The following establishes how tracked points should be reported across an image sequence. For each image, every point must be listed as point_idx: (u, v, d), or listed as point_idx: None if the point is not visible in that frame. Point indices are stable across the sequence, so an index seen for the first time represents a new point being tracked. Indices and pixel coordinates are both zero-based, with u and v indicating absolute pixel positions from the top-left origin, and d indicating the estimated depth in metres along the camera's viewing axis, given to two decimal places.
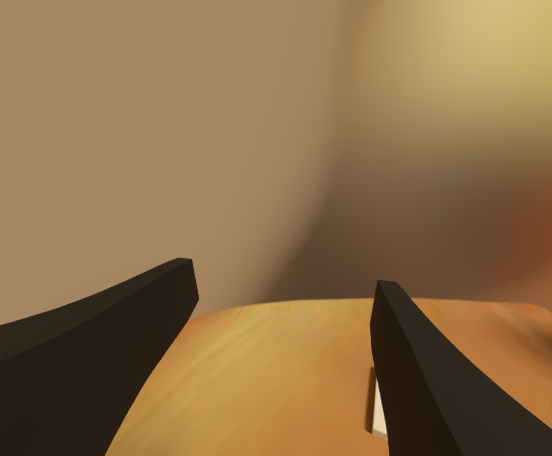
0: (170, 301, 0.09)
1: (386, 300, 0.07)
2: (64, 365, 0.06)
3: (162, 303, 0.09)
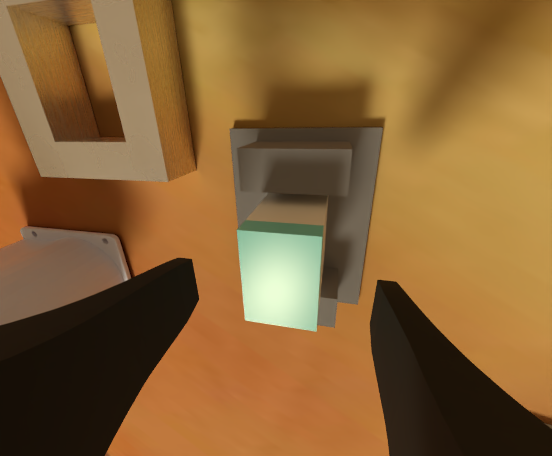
0: (170, 301, 0.09)
1: (386, 300, 0.07)
2: (63, 365, 0.06)
3: (162, 303, 0.09)
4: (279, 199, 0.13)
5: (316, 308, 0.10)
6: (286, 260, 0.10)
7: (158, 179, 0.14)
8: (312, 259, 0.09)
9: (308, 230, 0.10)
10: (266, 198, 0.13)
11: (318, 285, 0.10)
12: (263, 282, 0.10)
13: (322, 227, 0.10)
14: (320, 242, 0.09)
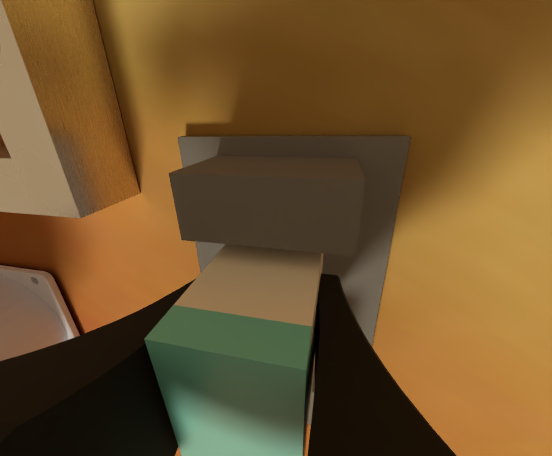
0: None
1: None
2: (139, 382, 0.05)
3: None
4: (248, 248, 0.08)
5: None
6: (240, 396, 0.05)
7: (66, 214, 0.09)
8: (288, 402, 0.05)
9: (280, 344, 0.05)
10: (228, 245, 0.09)
11: (301, 437, 0.05)
12: (204, 419, 0.06)
13: (309, 333, 0.05)
14: (302, 379, 0.04)
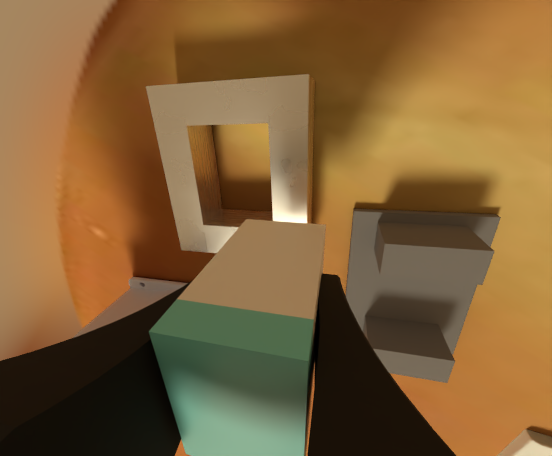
0: None
1: None
2: (139, 382, 0.05)
3: None
4: (250, 245, 0.08)
5: None
6: (243, 388, 0.05)
7: None
8: (290, 393, 0.05)
9: (283, 336, 0.05)
10: (230, 242, 0.09)
11: (303, 429, 0.05)
12: (207, 412, 0.06)
13: (311, 326, 0.05)
14: (305, 370, 0.05)
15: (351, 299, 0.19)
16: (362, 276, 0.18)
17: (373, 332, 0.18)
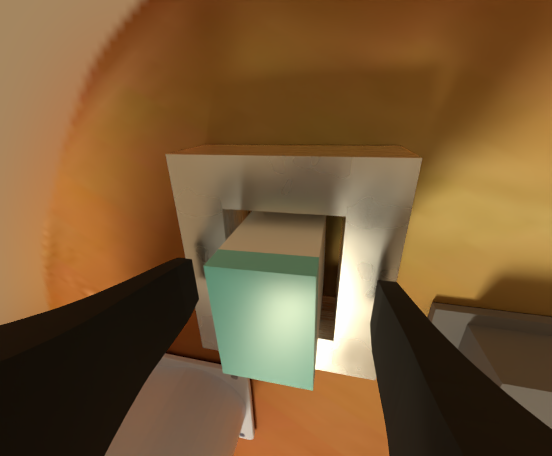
0: (170, 301, 0.09)
1: (386, 300, 0.07)
2: (64, 365, 0.06)
3: (162, 303, 0.09)
4: (266, 217, 0.11)
5: (311, 363, 0.08)
6: (270, 305, 0.07)
7: (362, 376, 0.12)
8: (304, 304, 0.07)
9: (298, 265, 0.07)
10: (250, 215, 0.11)
11: (313, 336, 0.08)
12: (242, 330, 0.08)
13: (317, 260, 0.07)
14: (314, 283, 0.07)
15: None
16: None
17: None
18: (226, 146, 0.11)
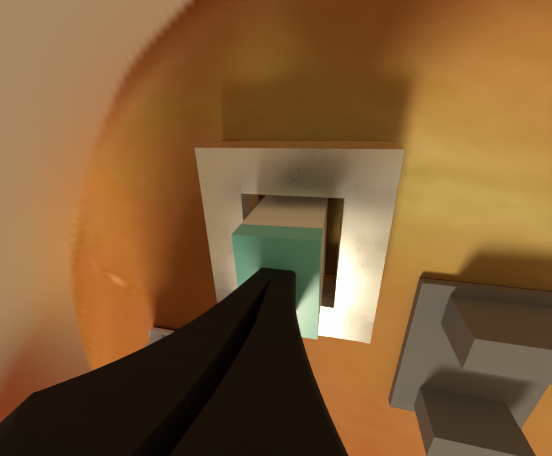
0: None
1: (269, 285, 0.08)
2: (209, 399, 0.05)
3: None
4: (277, 201, 0.12)
5: (316, 315, 0.10)
6: (284, 265, 0.09)
7: (359, 339, 0.14)
8: (311, 264, 0.09)
9: (306, 234, 0.09)
10: (263, 200, 0.13)
11: (318, 291, 0.09)
12: None
13: (321, 230, 0.09)
14: (319, 246, 0.09)
15: (406, 370, 0.17)
16: (422, 348, 0.16)
17: (434, 413, 0.16)
18: (242, 142, 0.13)
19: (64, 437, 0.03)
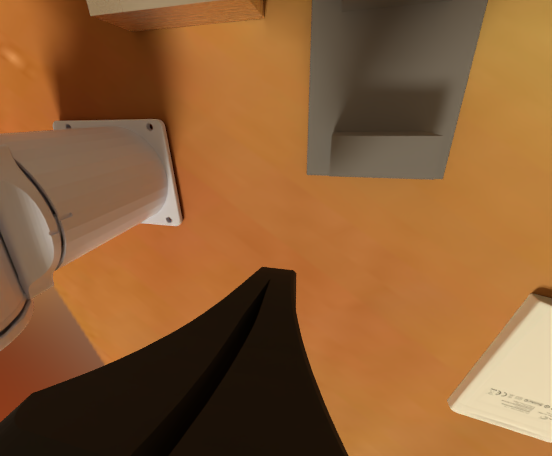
0: None
1: (269, 285, 0.08)
2: (209, 398, 0.05)
3: None
4: None
5: None
6: None
7: None
8: None
9: None
10: None
11: None
12: None
13: None
14: None
15: (315, 107, 0.15)
16: (328, 64, 0.14)
17: (340, 133, 0.14)
18: None
19: (63, 437, 0.03)
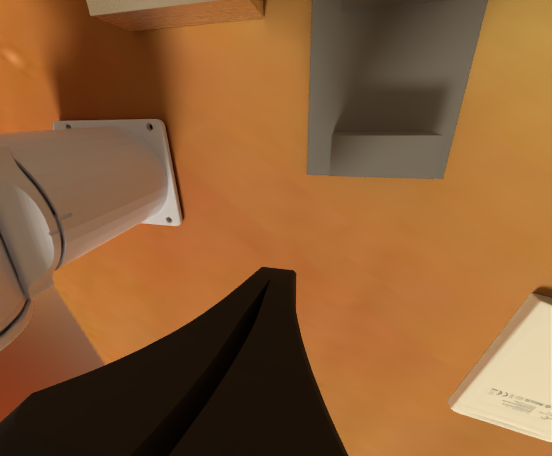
0: None
1: (269, 285, 0.08)
2: (209, 399, 0.05)
3: None
4: None
5: None
6: None
7: None
8: None
9: None
10: None
11: None
12: None
13: None
14: None
15: (315, 106, 0.15)
16: (328, 63, 0.14)
17: (340, 133, 0.14)
18: None
19: (63, 437, 0.03)
